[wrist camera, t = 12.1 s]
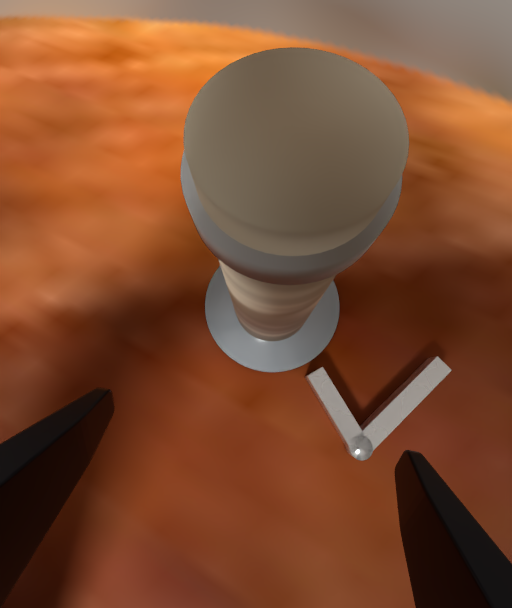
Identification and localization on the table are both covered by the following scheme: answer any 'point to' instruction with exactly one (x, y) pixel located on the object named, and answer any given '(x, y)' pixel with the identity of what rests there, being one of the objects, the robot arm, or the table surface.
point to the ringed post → (291, 177)
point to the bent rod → (385, 416)
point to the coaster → (269, 352)
